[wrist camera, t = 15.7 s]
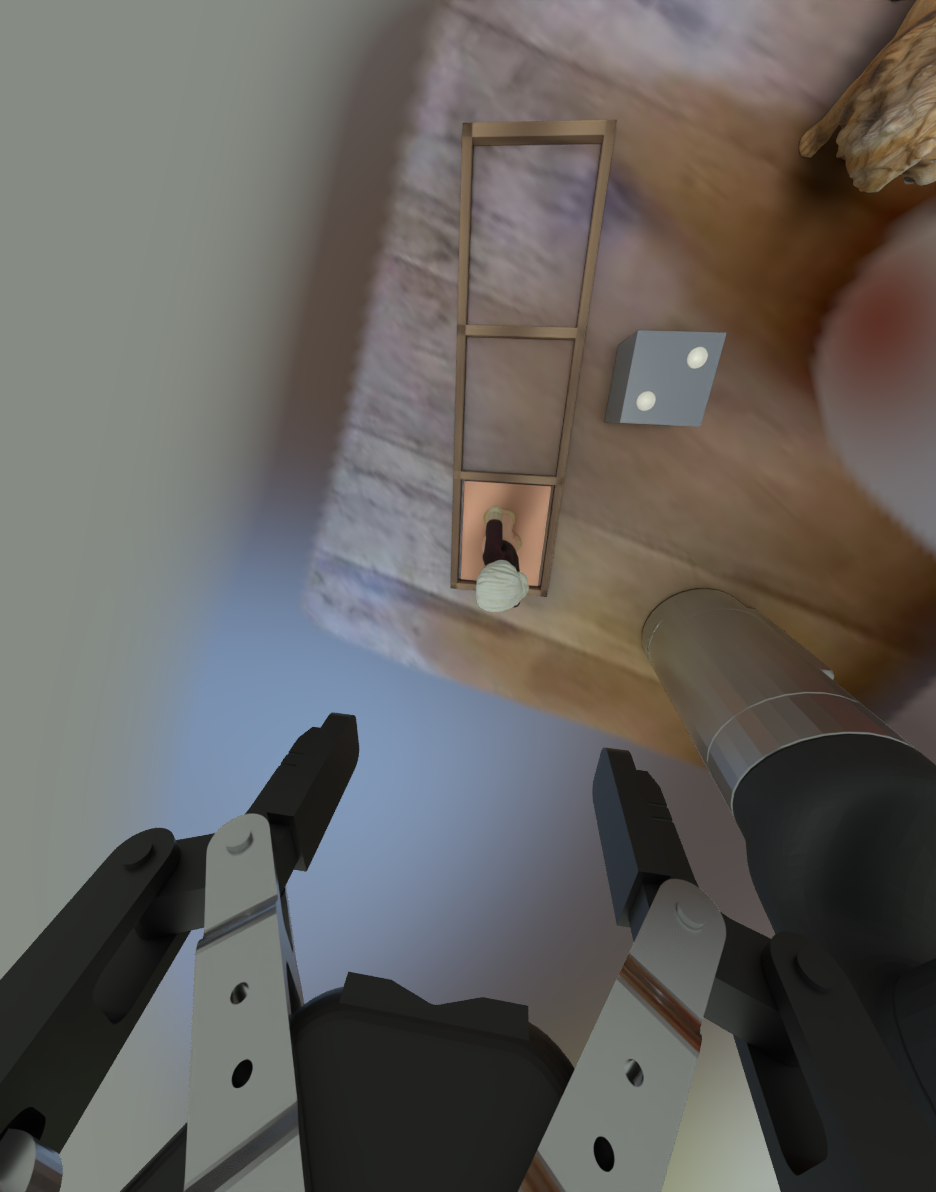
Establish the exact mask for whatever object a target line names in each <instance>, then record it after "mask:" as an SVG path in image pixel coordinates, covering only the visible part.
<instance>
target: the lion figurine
mask: <svg viewBox="0 0 936 1192" xmlns="http://www.w3.org/2000/svg"><path fill="white" fill-rule="evenodd" d="M839 125H841V131H840V132H839V134H838V136H837V139H836V143H837V144H838V145H839V147H838V152H837V154H836V157H837V158H840V157H841V158H842V159H843V160H845V161H846V168H847V172H848V174H849V177H850V178H853V185H854V186H855V187H857V188H859V190H860V191H865V192H878V191H879V190H880V189H881V188H882V187H884V186H885V185H886V184H887V183H889V182H890V181H891V180H893V179H894V178H895V177H897V176H898V175H900V174H901V175H902V177H903V179H904V182H905V183H906V184H912V183H914V182H916V183H917V184H919V185H926V184H929V183H932V182H934V181H936V0H916V1H915V3H914V4H913V6H912V7H911V9H910V10H909V12H908V14H907V15H906V17H905V19H904V21H903V22H902V24H901V26H900V27H899V29H898V31H897V33H896V35H895V37H894V38H893V39H892V40H891V41H890V42H889V43H888V44H887V45H886V46H885V47H884V48H883V49H882V50H881V51H880V53H879V54H878V55H877V56H876V57H875V58H874V59H873V60H872V61H871V63H870V64H869V65H868V67H867V68H866V69H865V71H864V72H863V73H862V74H861V75H860V76H859V77H858V78H857V79H856V80H855V81H854V82H853V83H852V84H851V85H850V86H849V87H848V89H847V90H846V91H845V92H844V94H843V95H842V96H841V97H840V99H839V100H838V101H837V102H836V103H835V104H834V106H833V107H832V108H831V109H830V111H829V112H828V113H827V114H826V116H825V117H824V118H823V119H821V120H820V121H819V122H818V123H817V124H816V125H814V126H813V127H812V128H810V129H809V130H808V131H807V132H806V133H805V134H804V135H803V137H802V138H801V140H800V144H799V152H800V154H801V156H802V157H808V158H809V157H812V156H813V155H814V154H815V153H816V152H817V151H818V150H819V148H820V147H821V146H822V145H824V144H825V143H826V142H827V141H828V140H829V139H830V137H831V135H832V134H833V132H834V131H835V129H836V128H837V127H838V126H839Z"/></svg>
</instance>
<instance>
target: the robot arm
mask: <svg viewBox="0 0 936 1192" xmlns="http://www.w3.org/2000/svg"><path fill="white" fill-rule="evenodd" d="M642 645H643V648H644V651H645V653H646V655H647V657H648V659H649V661H650V663H651V665H652V667H653V668H654V670H655V672H656V674H657V676H658V678H659V680H660V682H661V684H662V685H663V687H664V689H665V691H666V693H667V695H668V697H669V698H670V700H671V702H672V704H673V706H674V708H675V710H676V711H677V713H678V715H679V717H680V719H681V721H682V722H683V724H684V726H685V728H686V730H687V732H688V734H689V735H690V737H691V739H692V741H693V743H694V745H695V746H696V748H697V750H698V752H699V754H700V756H701V758H702V759H703V761H704V763H705V765H706V767H707V769H708V771H709V772H710V774H711V776H712V778H713V779H714V781H715V783H716V785H717V787H718V789H719V791H720V792H721V794H722V796H723V798H724V800H725V802H726V804H727V806H728V807H729V809H730V811H731V813H732V815H733V817H734V818H735V820H736V823H737V825H738V827H739V828H740V830H741V832H742V834H743V836H744V838H745V841H746V850H747V862H748V867H749V871H750V875H751V878H752V882H753V884H754V887H755V890H756V892H757V894H758V897H759V899H760V901H761V903H762V906H763V908H764V910H765V912H766V914H767V917H768V918H769V920H770V923H771V925H772V927H773V930H774V932H775V934H776V935H774V936H773V938H772V939H770V938H768V937H766V936H764V935H762V934H760V933H758V932H756V931H754V930H752V929H750V928H748V927H746V926H744V925H742V924H739V923H737V922H735V921H734V920H732V919H730V918H729V917H727V916H726V915H724V914H722V912H720V911H719V909H718V908H717V906H716V904H715V903H714V902H713V901H712V899H711V898H710V897H709V896H708V895H707V894H706V893H705V892H703V891H702V890H701V889H700V888H699V886H698V885H697V882H696V880H695V878H694V875H693V873H692V870H691V868H690V865H689V862H688V860H687V857H686V855H685V852H684V849H683V846H682V844H681V841H680V839H679V836H678V833H677V831H676V828H675V825H674V823H672V817H671V815H670V812H669V809H668V808H667V804H666V802H665V799H664V796H663V794H662V791H661V788H660V787H659V785H658V784H657V783H656V782H655V780H654V779H653V778H652V777H651V775H650V774H649V773H648V772H647V771H641V770H636V768H635V765H634V762H633V759H632V756H631V753H630V752H629V751H627V750H619V749H611V748H603V749H602V751H601V754H600V758H599V762H598V766H597V769H596V773H595V777H594V781H593V803H594V808H595V814H596V819H597V824H598V829H599V835H600V840H601V845H602V850H603V855H604V860H605V866H606V871H607V877H608V881H609V887H610V892H611V897H612V903H613V908H614V913H615V918H616V924H617V925H619V926H625V927H630V928H631V932H632V937H633V942H634V944H633V946H632V948H631V950H630V952H629V954H628V957H627V959H626V961H625V963H624V965H623V967H622V969H621V971H620V973H619V976H618V978H617V980H616V982H615V984H614V986H613V988H612V991H611V993H610V995H609V997H608V999H607V1002H606V1003H605V1006H604V1008H603V1010H602V1012H601V1014H600V1016H599V1018H598V1021H597V1023H596V1025H595V1027H594V1029H593V1031H592V1034H591V1036H590V1038H589V1040H588V1042H587V1044H586V1046H585V1049H584V1051H583V1053H582V1055H581V1057H580V1059H579V1062H578V1064H577V1066H576V1068H574V1067H573V1065H572V1064H571V1062H570V1061H569V1059H568V1058H567V1057H566V1055H565V1054H564V1053H563V1052H562V1050H561V1049H560V1048H559V1046H558V1045H557V1044H556V1043H555V1042H554V1041H552V1039H551V1038H550V1037H549V1036H548V1035H547V1034H545V1033H544V1032H543V1031H542V1030H540V1029H539V1028H538V1027H536V1026H535V1025H533V1024H531V1023H530V1022H528V1006H526V1005H521V1004H515V1003H510V1002H505V1001H500V1000H494V999H489V998H484V997H482V998H475V999H470V1000H464V1001H458V1002H453V1003H447V1004H441V1005H433V1004H430V1003H428V1002H427V1001H425V1000H423V999H422V998H420V997H419V996H417V995H415V994H414V993H412V992H410V991H409V990H407V989H405V988H404V987H402V986H400V985H399V984H397V983H395V982H394V981H392V980H389V979H384V978H379V977H373V976H368V975H363V974H358V973H352V972H348V975H347V978H346V981H345V984H344V987H340V988H336V989H333V990H330V991H327V992H325V993H323V994H321V995H319V996H317V997H315V998H313V999H312V1000H310V1001H309V1002H307V1003H306V1004H304V998H303V992H302V986H301V981H300V976H299V971H298V966H297V960H296V953H295V946H294V939H293V932H292V924H291V917H290V910H289V902H288V895H287V887H286V883H287V882H288V879H289V878H290V876H291V874H292V872H293V870H300V871H307V870H308V867H309V865H310V863H311V861H312V859H313V857H314V855H315V853H316V850H317V848H318V846H319V844H320V842H321V840H322V838H323V835H324V833H325V831H326V829H327V827H328V825H329V823H330V821H331V819H332V816H333V814H334V812H335V810H336V808H337V806H338V804H339V802H340V799H341V797H342V795H343V793H344V791H345V789H346V787H347V785H348V782H349V780H350V778H351V776H352V774H353V772H354V770H355V767H356V765H357V761H358V757H359V742H358V732H357V724H356V717H355V716H354V715H349V714H341V713H331V714H330V715H329V716H328V717H327V719H326V720H325V722H324V723H323V725H322V727H321V728H318V727H312V728H310V729H309V730H308V731H307V732H305V733H304V734H303V735H301V736H300V737H299V738H298V739H297V741H296V742H295V743H294V745H293V746H292V748H291V749H290V751H289V754H288V755H286V756H285V758H284V759H283V761H282V762H281V765H280V766H279V767H278V768H277V769H276V771H275V772H274V774H273V775H272V777H271V778H270V780H269V781H268V782H267V784H266V785H265V787H264V788H263V790H262V791H261V793H260V794H259V795H258V797H257V798H256V800H255V801H254V803H253V804H252V806H251V807H250V808H249V810H248V811H247V812H246V813H245V814H244V815H241V816H238V817H236V818H234V819H232V820H230V821H229V822H227V823H226V824H224V825H223V826H222V827H221V828H220V829H219V830H218V831H217V832H216V833H213V834H209V835H203V836H197V837H192V838H186V839H180V840H175V838H174V836H173V834H172V832H171V831H169V830H167V829H165V828H153V829H149V830H145V831H143V832H140V833H138V834H136V835H134V836H132V837H131V838H129V839H128V840H126V841H125V842H123V843H122V844H121V845H120V846H118V847H117V848H116V849H115V850H114V851H113V852H112V853H111V854H110V856H109V857H108V858H107V859H106V860H105V861H104V862H103V863H102V865H101V866H100V867H99V868H98V869H97V870H96V872H95V873H94V874H93V875H92V876H91V877H90V878H89V880H88V881H87V882H86V883H85V884H84V885H83V886H82V888H81V889H80V890H79V891H78V892H77V893H76V894H75V895H74V897H73V898H72V899H71V900H70V901H69V902H68V903H67V905H66V906H65V907H64V908H63V909H62V910H61V911H60V913H59V914H58V915H57V916H56V917H55V918H54V919H53V921H52V922H51V923H50V924H49V925H48V926H47V928H46V929H45V930H44V931H43V932H42V933H41V934H40V935H39V937H38V938H37V939H36V940H35V941H34V942H33V943H32V945H31V946H30V947H29V948H28V949H27V950H26V952H25V953H24V954H23V955H22V956H21V957H20V958H19V959H18V960H17V962H16V963H15V964H14V965H13V966H12V967H11V969H10V970H9V971H8V972H7V973H6V974H5V975H4V976H3V978H2V979H1V980H0V1192H59V1191H60V1188H61V1183H62V1176H63V1166H62V1161H61V1158H60V1156H59V1154H60V1152H61V1150H62V1149H63V1147H64V1145H65V1143H66V1142H67V1140H68V1138H69V1137H70V1135H71V1133H72V1132H73V1130H74V1128H75V1127H76V1125H77V1123H78V1121H79V1120H80V1118H81V1116H82V1115H83V1113H84V1111H85V1110H86V1108H87V1106H88V1104H89V1103H90V1101H91V1100H92V1098H93V1096H94V1094H95V1093H96V1091H97V1089H98V1088H99V1086H100V1084H101V1082H102V1081H103V1079H104V1077H105V1076H106V1074H107V1072H108V1071H109V1069H110V1067H111V1066H112V1064H113V1062H114V1060H115V1059H116V1057H117V1055H118V1054H119V1052H120V1050H121V1049H122V1047H123V1045H124V1044H125V1042H126V1040H127V1038H128V1037H129V1035H130V1033H131V1032H132V1030H133V1028H134V1026H135V1025H136V1023H137V1021H138V1020H139V1018H140V1016H141V1015H142V1013H143V1011H144V1010H145V1008H146V1006H147V1004H148V1003H149V1001H150V999H151V998H152V996H153V994H154V993H155V991H156V989H157V987H158V986H159V984H160V982H161V981H162V979H163V977H164V976H165V974H166V972H167V971H168V969H169V967H170V966H171V964H172V962H173V960H174V959H175V957H176V955H177V954H178V952H179V950H180V949H181V947H182V945H183V943H184V942H185V940H186V938H187V937H188V935H189V933H190V932H191V930H195V929H199V928H204V935H203V939H201V940H199V942H198V944H197V947H196V954H195V970H194V992H193V1016H192V1037H191V1059H190V1080H189V1102H188V1122H187V1123H186V1124H185V1125H184V1126H183V1127H182V1128H181V1129H180V1130H179V1131H178V1132H177V1133H176V1134H175V1135H174V1136H173V1137H172V1138H171V1139H170V1140H169V1142H168V1143H166V1145H164V1147H163V1148H162V1149H161V1150H160V1151H159V1152H158V1153H157V1154H156V1155H155V1156H154V1157H153V1158H152V1159H151V1160H150V1161H149V1162H148V1163H147V1164H146V1165H145V1166H144V1167H143V1168H142V1169H141V1170H140V1171H139V1173H138V1174H136V1175H135V1177H134V1178H133V1179H132V1180H131V1181H130V1182H129V1183H128V1184H127V1185H126V1186H125V1187H124V1188H123V1189H122V1190H121V1191H120V1192H661V1190H662V1187H663V1184H664V1180H665V1176H666V1173H667V1169H668V1165H669V1162H670V1158H671V1155H672V1151H673V1147H674V1144H675V1140H676V1136H677V1132H678V1129H679V1126H680V1122H681V1118H682V1114H683V1111H684V1107H685V1104H686V1100H687V1097H688V1093H689V1089H690V1086H691V1082H692V1078H693V1074H694V1071H695V1067H696V1064H697V1060H698V1056H699V1053H700V1048H701V1042H702V1036H701V1034H700V1027H701V1023H702V1020H703V1017H704V1018H706V1019H708V1020H710V1021H711V1022H713V1023H715V1024H716V1025H718V1026H720V1027H721V1028H723V1029H725V1030H727V1031H728V1032H730V1033H732V1034H733V1036H734V1039H735V1043H736V1046H737V1049H738V1053H739V1056H740V1059H741V1062H742V1066H743V1069H744V1072H745V1075H746V1079H747V1082H748V1085H749V1088H750V1092H751V1095H752V1099H753V1102H754V1105H755V1108H756V1112H757V1115H758V1118H759V1121H760V1125H761V1128H762V1131H763V1134H764V1138H765V1141H766V1145H767V1148H768V1151H769V1155H770V1158H771V1161H772V1164H773V1168H774V1171H775V1174H776V1177H777V1180H778V1184H779V1187H780V1191H781V1192H936V765H935V764H934V763H933V762H931V761H930V760H929V759H928V758H926V757H925V756H924V755H923V754H922V753H921V752H919V751H918V750H917V749H916V748H914V747H913V746H912V745H911V744H910V743H908V742H907V741H906V740H905V739H904V738H902V737H901V736H900V735H899V734H898V733H896V732H895V731H894V730H893V729H891V728H890V727H889V726H888V725H887V724H886V723H884V722H883V721H882V720H881V719H880V718H878V717H877V716H876V715H875V714H874V713H872V712H871V711H870V710H868V709H867V708H866V707H865V706H864V705H862V704H861V703H860V702H859V701H858V700H856V699H855V698H854V697H853V696H852V695H850V694H849V693H848V692H847V691H846V690H844V689H843V688H842V687H841V686H840V685H838V684H837V683H836V682H835V681H834V673H833V671H832V670H831V669H830V668H829V667H828V666H826V665H825V664H824V663H823V662H821V661H820V660H819V659H818V658H816V657H815V656H814V655H813V654H811V653H810V652H809V651H808V650H806V649H805V648H804V647H803V646H802V645H800V644H799V643H798V642H797V641H795V640H794V639H793V638H792V637H790V636H789V635H788V634H787V633H785V632H784V631H783V630H782V629H780V628H779V627H778V626H777V625H775V624H774V623H773V622H772V621H770V620H769V619H768V618H767V617H766V616H764V615H763V614H762V613H761V612H759V611H758V610H757V609H753V608H747V607H745V606H744V605H743V604H742V603H740V602H739V601H738V600H737V599H736V598H734V597H732V596H731V595H729V594H727V593H724V592H721V591H718V590H712V589H696V590H690V591H686V592H682V593H679V594H677V595H675V596H673V597H670V598H669V599H667V600H666V601H664V602H663V603H661V604H660V605H659V606H658V607H657V608H656V609H655V610H654V611H653V612H652V613H651V615H650V616H649V618H648V619H647V621H646V623H645V625H644V628H643V633H642Z"/></svg>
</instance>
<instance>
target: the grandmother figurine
mask: <svg viewBox="0 0 936 1192" xmlns="http://www.w3.org/2000/svg"><path fill="white" fill-rule="evenodd" d="M514 524H515V515H514V513H513V512H512V511H510V510H505V509H501V507H499V506H492V507H491V508H490V509H488V510H487V511H486V512H485V514H484V525H485V526H486V536H485V537H484V538H483V541H482V550H483V556H482V558H483V561H484V564H485V566H484V567H483V568H482V569H481V571H480V572H479V574H478V577H477V583H476V599H477V603H478V605H479V606H480V607H481V608H482V609H484V610H486V611H490V612H501V611H506V610H508V609H510V608H512V607H517V606H518V605H519V604H520V601H521V599H523V598H524V597H525V596H526V594H527V592H528V590H529V585H528V579H527V576H526V575H525V574H524V573H521V572H520V569H519V557H518V555H517V550H519V549H520V548H521V546H522V541H521V538H520V536H519V535H517V534H513V532H512V529H513V525H514Z"/></svg>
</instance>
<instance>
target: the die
mask: <svg viewBox="0 0 936 1192" xmlns="http://www.w3.org/2000/svg"><path fill="white" fill-rule="evenodd" d="M725 337H726V333H716V332H679V331H642V330H638V331H637V332H635V333H634V334H632V335H631V336H630V337H628V338H627V339H626V340H624V341H623V342H622V343H620V344H619V345H618V349H617V355H616V361H615V366H614V372H613V377H612V383H611V388H610V394H609V399H608V405H607V411H606V416H605V422H615V423H636V424H657V425H677V426H698V427H700V426H701V423H702V419H703V416H704V412H705V408H706V405H707V401H708V398H709V394H710V391H711V387H712V383H713V380H714V376H715V373H716V369H717V365H718V362H719V358H720V355H721V351H722V348H723V344H724V340H725Z"/></svg>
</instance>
